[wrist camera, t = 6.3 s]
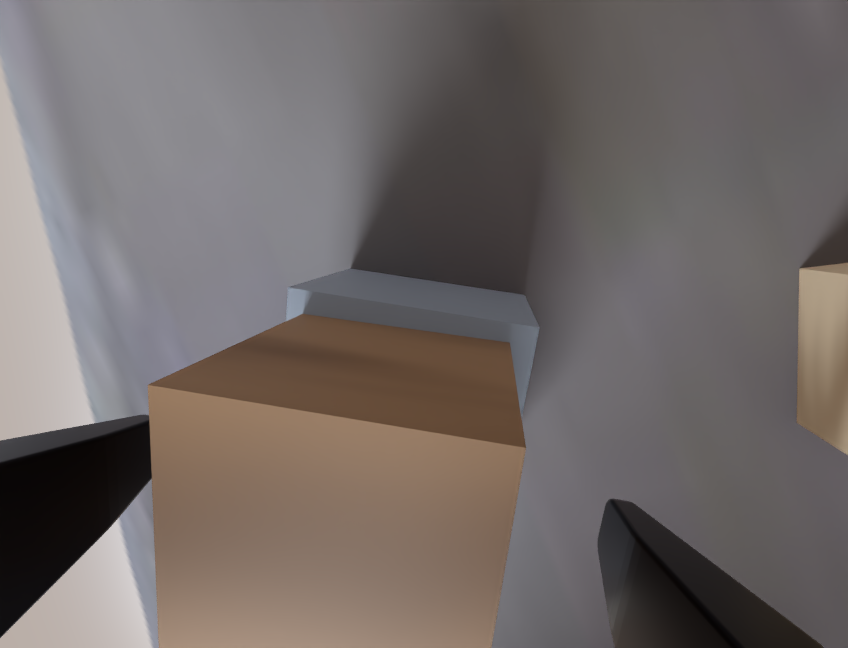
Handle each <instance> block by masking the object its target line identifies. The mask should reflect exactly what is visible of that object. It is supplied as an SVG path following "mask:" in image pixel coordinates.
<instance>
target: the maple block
mask: <svg viewBox="0 0 848 648" xmlns="http://www.w3.org/2000/svg"><path fill="white" fill-rule="evenodd" d="M797 423H798V424H800V425H801V426H803V427H804V428H806V429H807V430H809V431H811V432H812V433H814V434H815V435H817V436H818V437H820V438H822V439H823V440H825V441H826V442H828V443H829V444H831V445H833V446H834V447H836V448H837V449H839V450H840V451H842V452H843V453H845V454H847V455H848V263H841V264H833V265H824V266H816V267H807V268H799V324H798V381H797Z"/></svg>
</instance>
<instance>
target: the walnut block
mask: <svg viewBox="0 0 848 648" xmlns="http://www.w3.org/2000/svg"><path fill="white" fill-rule="evenodd" d="M148 398H149V422H150V446H151V470H152V494H153V518H154V542H155V566H156V590H157V614H158V638H159V648H491V646H492V640H493V635H494V629H495V623H496V617H497V612H498V606H499V600H500V594H501V589H502V583H503V577H504V571H505V565H506V560H507V554H508V548H509V542H510V537H511V531H512V525H513V519H514V514H515V508H516V502H517V496H518V490H519V485H520V479H521V473H522V467H523V462H524V456H525V450H526V445H525V439H524V432H523V426H522V419H521V413H520V406H519V399H518V393H517V386H516V380H515V373H514V367H513V360H512V354H511V347H510V343H509V342H502V341H495V340H488V339H481V338H473V337H466V336H459V335H452V334H445V333H437V332H430V331H423V330H416V329H409V328H401V327H394V326H387V325H380V324H373V323H365V322H358V321H351V320H344V319H336V318H329V317H322V316H315V315H308V314H301V315H299V316H297V317H295V318H292V319H290V320H288V321H286V322H284V323H282V324H279V325H277V326H275V327H273V328H271V329H268V330H266V331H264V332H262V333H260V334H258V335H255V336H253V337H251V338H249V339H247V340H245V341H242V342H240V343H238V344H236V345H234V346H231V347H229V348H227V349H225V350H223V351H221V352H218V353H216V354H214V355H212V356H210V357H208V358H205V359H203V360H201V361H199V362H197V363H195V364H192V365H190V366H188V367H186V368H184V369H181V370H179V371H177V372H175V373H173V374H171V375H168V376H166V377H164V378H162V379H160V380H158V381H155V382H153V383H151V384H149V385H148Z"/></svg>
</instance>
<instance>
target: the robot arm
mask: <svg viewBox="0 0 848 648" xmlns="http://www.w3.org/2000/svg"><path fill="white" fill-rule="evenodd" d="M151 479H152V470H151V446H150V422H149V415H138V416H133V417H127V418H122V419H116V420H111V421H105V422H100V423H94V424H89V425H83V426H78V427H72V428H67V429H62V430H56V431H50V432H45V433H40V434H35V435H29V436H23V437H18V438H13V439H7V440H1V441H0V638H1V637H2V636H3V635H4V634H5V633H6V632H7V631H8V630H9V629H10V628H11V626H13V625H14V624H15V623H16V622H17V621H18V620H19V619H20V618H21V617H22V616H23V615H24V614H25V613H26V612H27V611H28V610H29V609H30V608H31V607H32V606H33V605H34V603H36V601H38V600H39V599H40V598H41V597H42V596H43V595H44V594H45V593H46V591H47V590H49V588H50V587H51V586H53V584H54V583H56V581H57V580H58V579H59V578H60V577H61V576H62V575H63V574H64V573H65V572H66V571H67V570H68V569H69V568H70V567H71V566H72V565H73V564H74V563H75V562H76V561H77V560H78V559H79V558H80V557H81V556H82V555H83V554H84V553H85V552H86V551H87V550H88V549H89V548H90V547H91V546H92V545H93V544H94V543H95V542H96V541H97V540H98V539H99V538H100V537H101V536H102V535H103V534H104V533H105V532H106V531H107V530H108V529H109V528H110V527H111V526H112V524H113V523H114V522H115V521H116V520H117V519H118V518H119V517H120V515H121V514H122V513H123V512H124V511H125V509H126V508H127V507H128V506H129V505H130V504H131V502H132V501H133V500H134V499H135V498H136V496H137V495H138V494H139V493H140V492H141V490H142V489H143V488H144V487H145V486H146V485H147V483H148V482H149V481H150V480H151ZM598 554H599V560H600V566H601V573H602V579H603V585H604V592H605V598H606V604H607V610H608V617H609V623H610V628H611V634H612V638H613V642H614V646H615V648H824V647H823V646H822V645H821V644H820V643H818V642H817V641H816V640H814V639H813V638H812V637H810V636H809V635H808V634H806V633H805V632H804V631H802V630H801V629H800V628H798V627H797V626H796V625H794V624H793V623H792V622H790V621H789V620H788V619H786V618H785V617H784V616H782V615H781V614H780V613H778V612H777V611H776V610H774V609H773V608H772V607H770V606H769V605H768V604H766V603H765V602H764V601H763V600H761V599H760V598H759V597H757V596H756V595H755V594H753V593H752V592H751V591H749V590H748V589H747V588H745V587H744V586H743V585H741V584H740V583H739V582H737V581H736V580H735V579H733V578H732V577H731V576H729V575H728V574H727V573H725V572H724V571H723V570H721V569H720V568H719V567H717V566H716V565H715V564H713V563H712V562H711V561H709V560H708V559H707V558H705V557H704V556H703V555H701V554H700V553H699V552H697V551H696V550H695V549H693V548H692V547H691V546H690V545H688V544H687V543H686V542H684V541H683V540H682V539H680V538H679V537H678V536H676V535H675V534H674V533H672V532H671V531H670V530H668V529H667V528H666V527H664V526H663V525H662V524H660V523H659V522H658V521H656V520H655V519H654V518H652V517H651V516H650V515H648V514H647V513H646V512H644V511H643V510H642V509H640V508H639V507H638V506H636V505H635V504H634V503H632V502H629V501H623V500H618V499H609V500H608V501H607V503H606V506H605V510H604V514H603V518H602V523H601V527H600V531H599V536H598Z"/></svg>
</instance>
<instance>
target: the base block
mask: <svg viewBox="0 0 848 648" xmlns="http://www.w3.org/2000/svg"><path fill="white" fill-rule="evenodd" d="M301 314H308V315H315V316H322V317H329V318H336V319H344V320H351V321H358V322H365V323H373V324H380V325H387V326H394V327H401V328H409V329H416V330H423V331H430V332H437V333H445V334H452V335H459V336H466V337H473V338H481V339H488V340H495V341H502V342H509V343H510V347H511V354H512V360H513V367H514V373H515V380H516V386H517V393H518V399H519V406H520V413H521V419H522V414H523V409H524V404H525V399H526V394H527V388H528V383H529V378H530V373H531V368H532V363H533V358H534V353H535V348H536V343H537V338H538V333H539V328H540V327H539V325H538V323H537V321H536V319H535V317H534V314H533V312H532V310H531V308H530V306H529V304H528V301H527V299H526V297H525V295H522V294H515V293H509V292H502V291H495V290H489V289H482V288H476V287H469V286H462V285H456V284H449V283H443V282H436V281H430V280H423V279H416V278H410V277H403V276H397V275H390V274H383V273H377V272H370V271H364V270H357V269H348V270H344V271H341V272H338V273H334V274H331V275H328V276H324V277H321V278H318V279H314V280H311V281H308V282H304V283H301V284H298V285H294V286H291V287H288V296H287V313H286V321H288V320H290V319H292V318H295V317H297V316H299V315H301Z"/></svg>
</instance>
